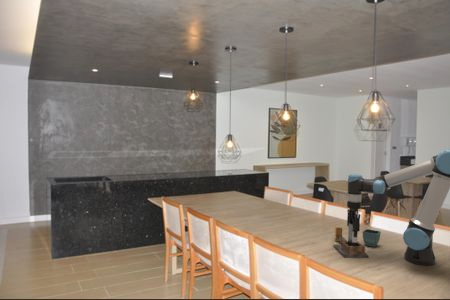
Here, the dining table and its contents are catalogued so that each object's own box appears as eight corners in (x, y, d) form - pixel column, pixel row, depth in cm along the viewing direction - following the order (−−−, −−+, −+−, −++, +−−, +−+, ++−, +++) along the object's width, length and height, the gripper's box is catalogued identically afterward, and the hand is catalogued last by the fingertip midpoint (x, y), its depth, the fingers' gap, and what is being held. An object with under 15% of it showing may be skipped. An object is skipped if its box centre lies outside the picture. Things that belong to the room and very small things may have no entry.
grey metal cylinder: (354, 246, 200) (355, 223, 199) (358, 249, 195) (359, 225, 194) (346, 246, 200) (347, 223, 199) (349, 249, 195) (350, 225, 194)
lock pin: (340, 239, 223) (341, 226, 222) (352, 250, 202) (353, 236, 202) (334, 239, 223) (335, 226, 222) (345, 250, 202) (346, 236, 202)
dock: (355, 246, 210) (355, 237, 210) (368, 257, 191) (369, 247, 191) (333, 246, 210) (333, 237, 210) (344, 257, 191) (344, 247, 191)
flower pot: (366, 242, 220) (366, 228, 219) (380, 245, 214) (381, 231, 214) (361, 245, 213) (362, 231, 212) (376, 248, 207) (377, 234, 207)
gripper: (342, 198, 205) (340, 236, 206) (353, 204, 187) (352, 245, 188) (354, 198, 205) (353, 236, 206) (367, 204, 187) (365, 246, 188)
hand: (352, 240), depth 197 cm, fingers closed on grey metal cylinder, 5 cm apart
